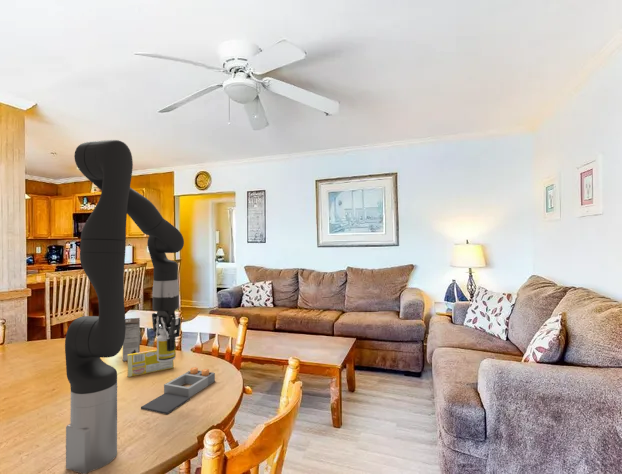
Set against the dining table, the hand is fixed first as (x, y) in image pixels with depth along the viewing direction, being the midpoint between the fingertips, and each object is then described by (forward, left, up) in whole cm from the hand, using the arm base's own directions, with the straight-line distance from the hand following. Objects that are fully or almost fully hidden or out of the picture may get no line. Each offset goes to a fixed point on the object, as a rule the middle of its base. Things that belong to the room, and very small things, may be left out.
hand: (165, 348), depth 106 cm
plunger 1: (+18, +3, -16) cm, 24 cm away
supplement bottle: (0, 0, -4) cm, 4 cm away
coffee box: (+29, +46, -18) cm, 57 cm away
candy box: (+19, +25, -18) cm, 36 cm away
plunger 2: (+18, -1, -16) cm, 24 cm away
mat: (0, 0, -17) cm, 17 cm away
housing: (+13, +1, -17) cm, 21 cm away
